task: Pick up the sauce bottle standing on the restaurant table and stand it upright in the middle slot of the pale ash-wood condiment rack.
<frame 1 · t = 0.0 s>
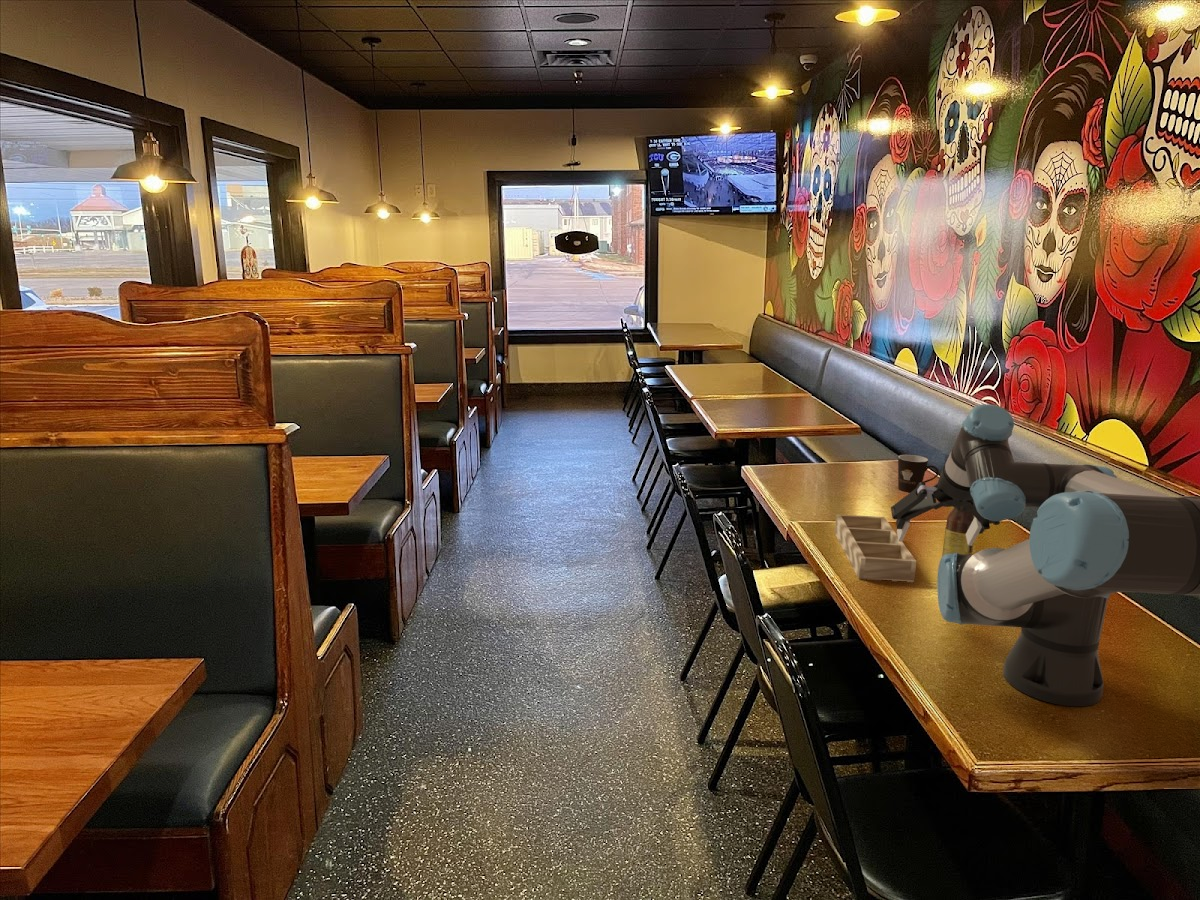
hand: (933, 538, 170), 15 cm above the table, tool tilted 35°, fingers open, 13 cm apart
coffee mug: (912, 491, 257), on the table
condiment rack: (871, 555, 202), on the table
sauce bottle: (954, 573, 193), on the table
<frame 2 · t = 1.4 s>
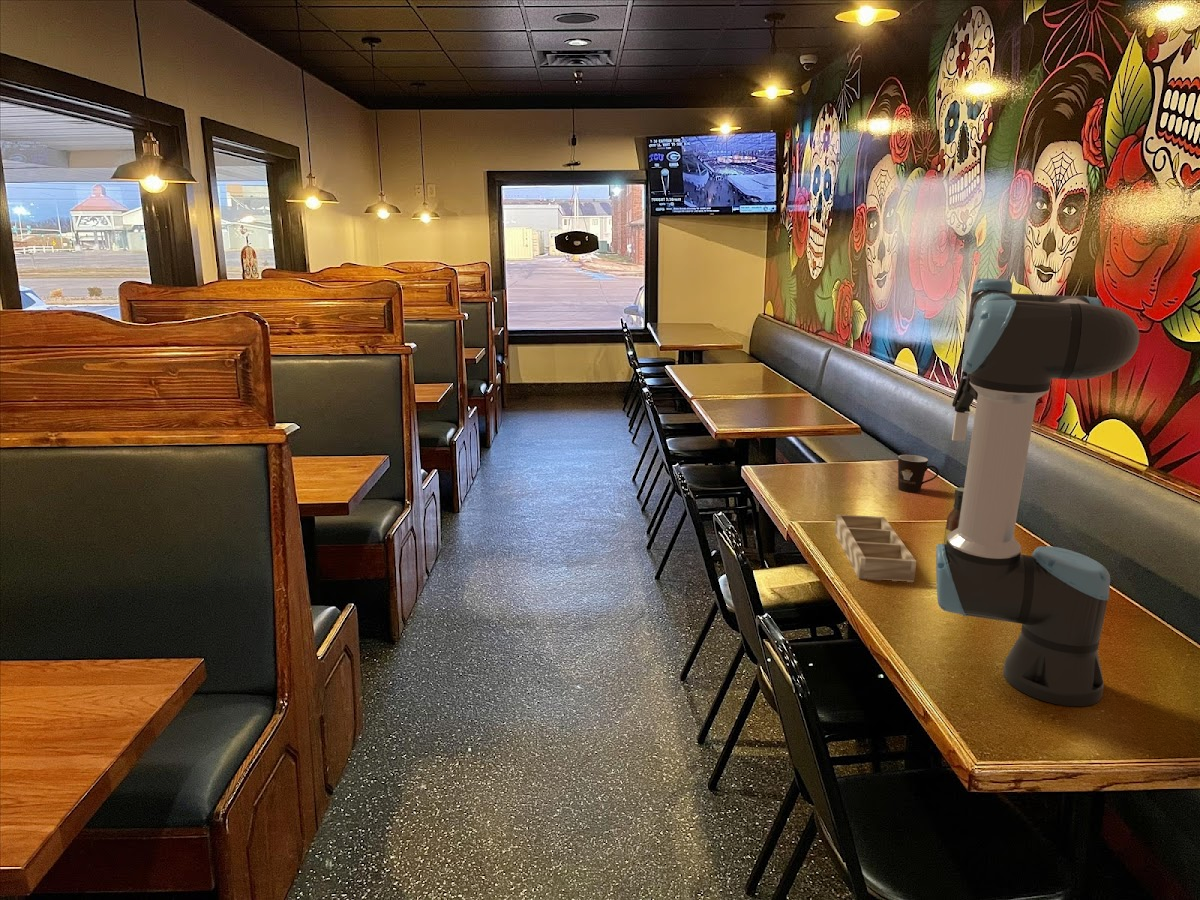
hand: (969, 448, 185), 30 cm above the table, tool pointing down, fingers open, 13 cm apart
nothing on the table moved.
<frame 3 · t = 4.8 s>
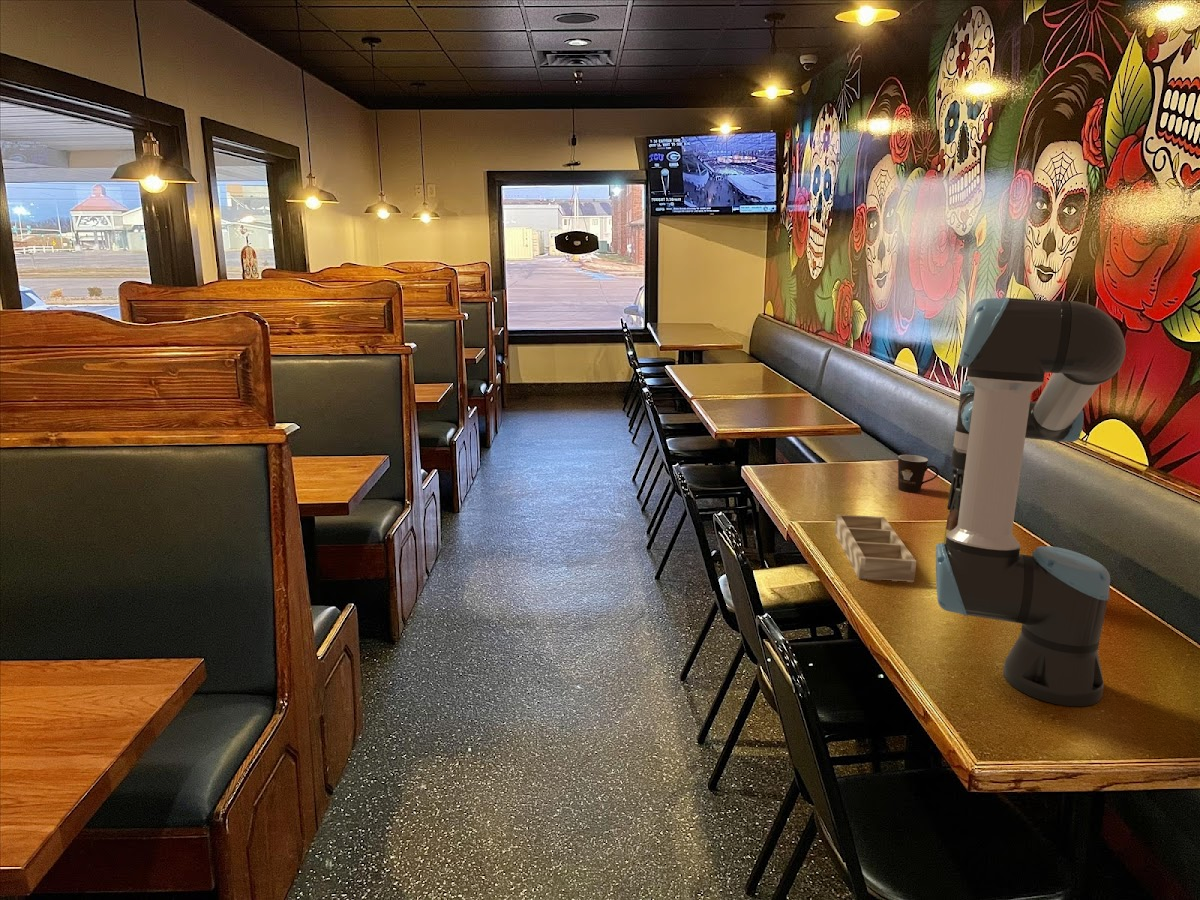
hand: (957, 548, 191), 6 cm above the table, tool pointing down, fingers closed on sauce bottle, 6 cm apart
sauce bottle: (954, 573, 193), on the table, touching gripper
everything else where it was.
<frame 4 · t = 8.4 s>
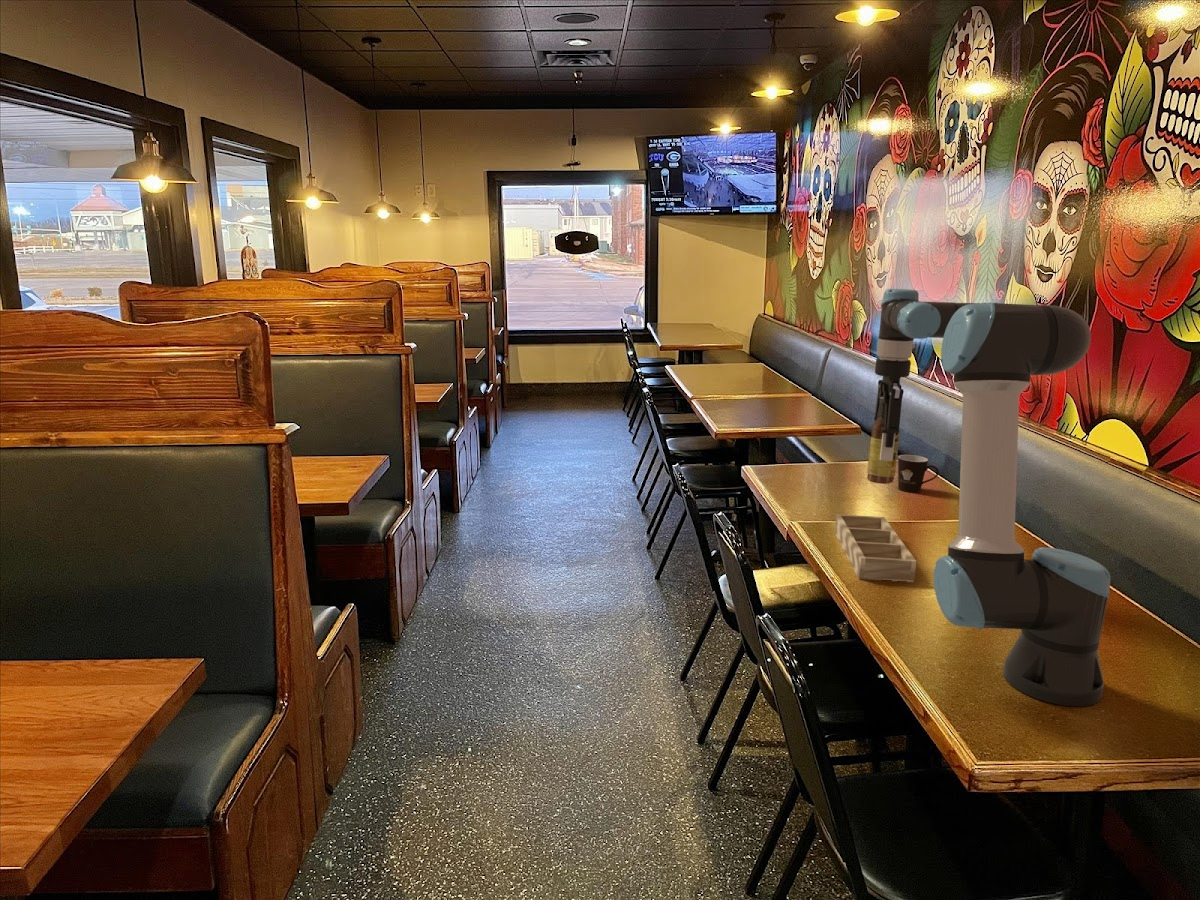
hand: (882, 456, 196), 25 cm above the table, tool pointing down, fingers closed on sauce bottle, 6 cm apart
sauce bottle: (879, 481, 198), point 19 cm above the table, touching gripper
everything else where it was.
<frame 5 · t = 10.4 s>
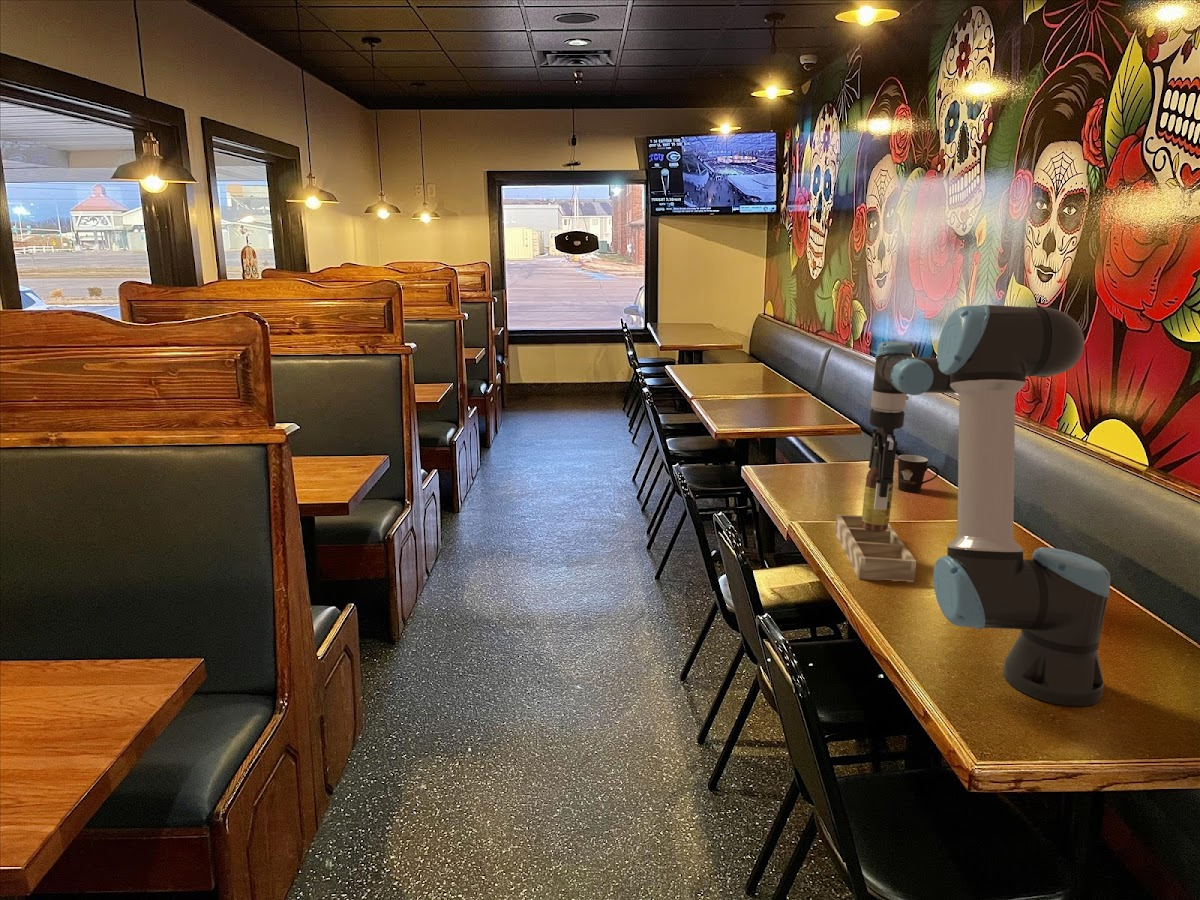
hand: (876, 504, 199), 13 cm above the table, tool pointing down, fingers closed on sauce bottle, 6 cm apart
sauce bottle: (874, 529, 201), point 7 cm above the table, touching gripper
everything else where it was.
when the fingers open (8 cm above the table, at t = 12.2 s): sauce bottle drops 1 cm, resting on condiment rack.
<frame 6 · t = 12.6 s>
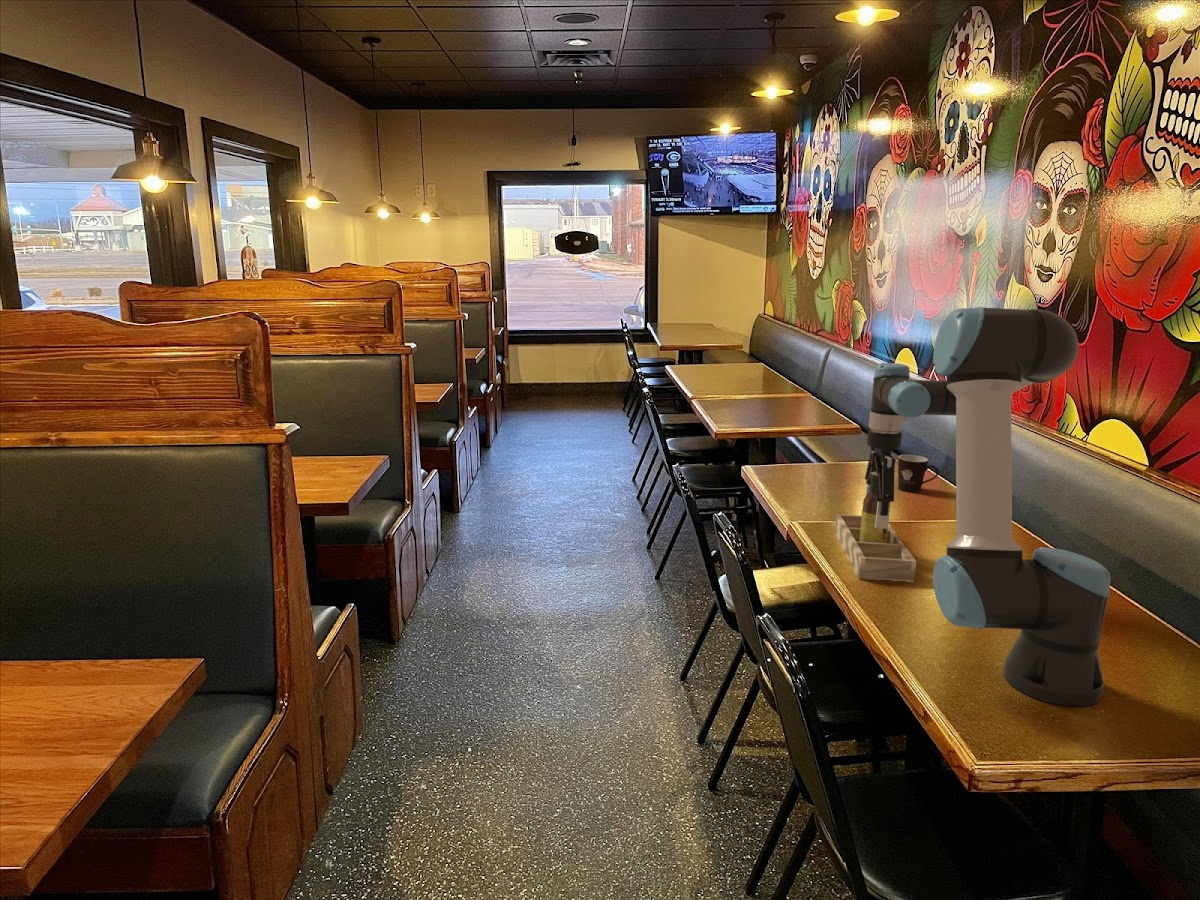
hand: (875, 519, 200), 9 cm above the table, tool pointing down, fingers open, 11 cm apart
sauce bottle: (871, 553, 202), resting on condiment rack
everything else where it was.
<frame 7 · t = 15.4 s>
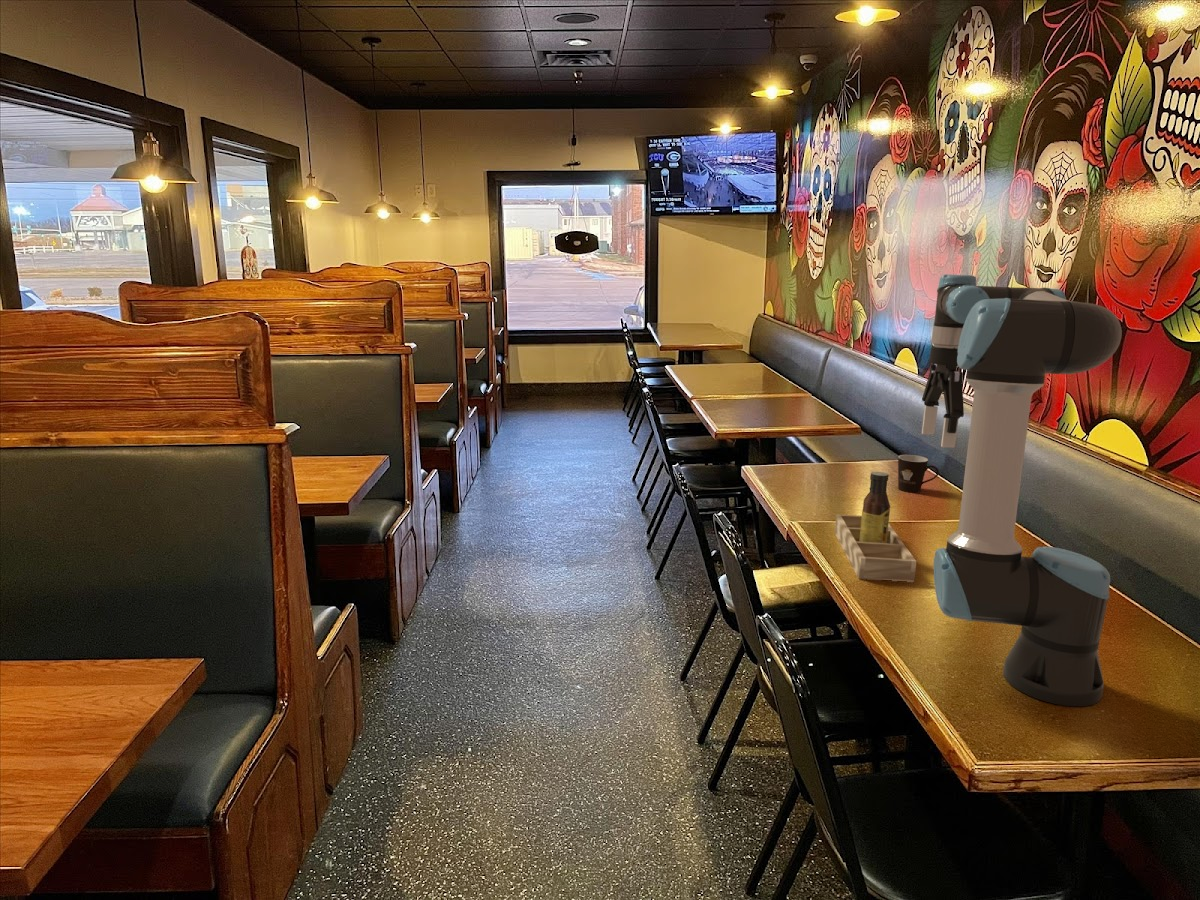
hand: (937, 440, 189), 30 cm above the table, tool pointing down, fingers open, 13 cm apart
nothing on the table moved.
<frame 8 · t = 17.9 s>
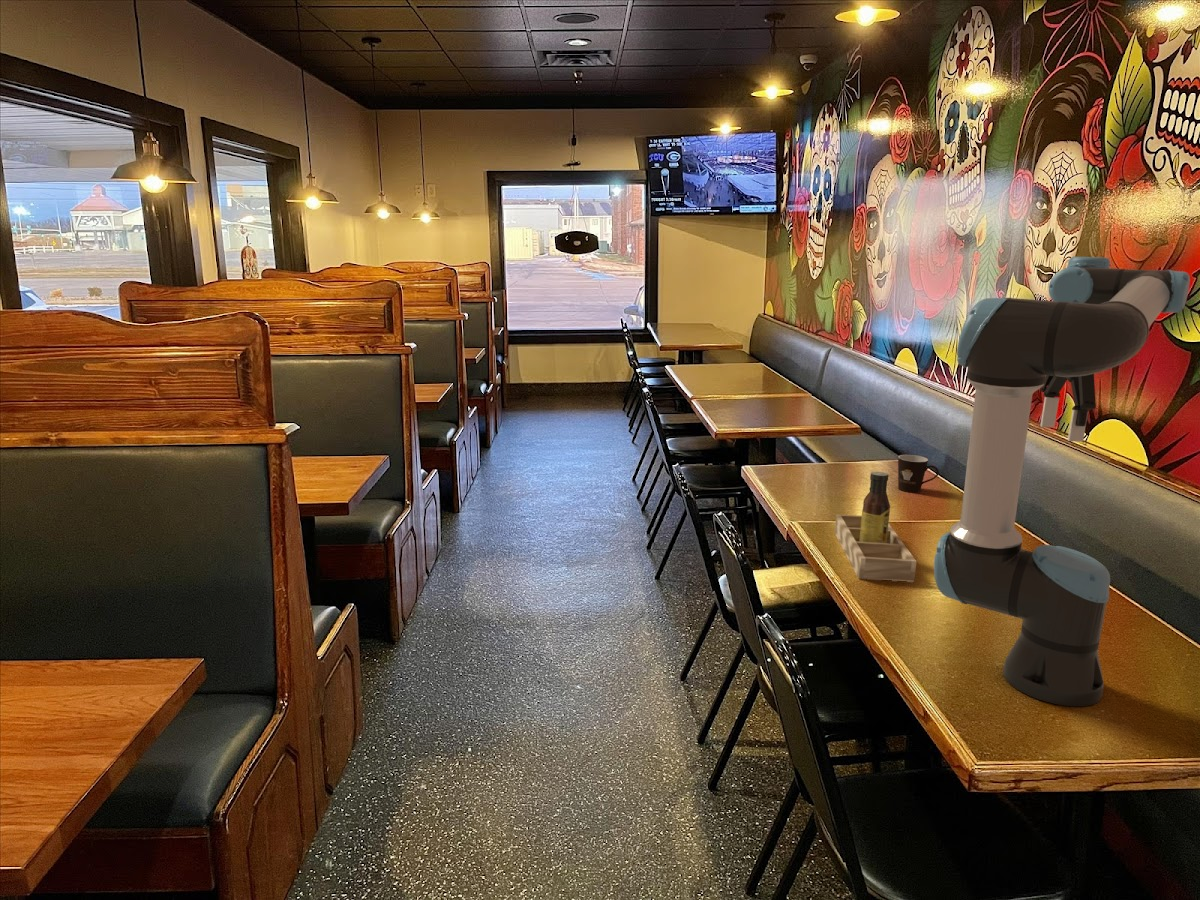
hand: (1060, 433, 178), 35 cm above the table, tool pointing down, fingers open, 13 cm apart
nothing on the table moved.
at the end: sauce bottle 0.2 cm off-centre on the condiment rack, point 0.4 cm above the condiment rack's base; sauce bottle tilted 0°; the gripper is holding nothing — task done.
